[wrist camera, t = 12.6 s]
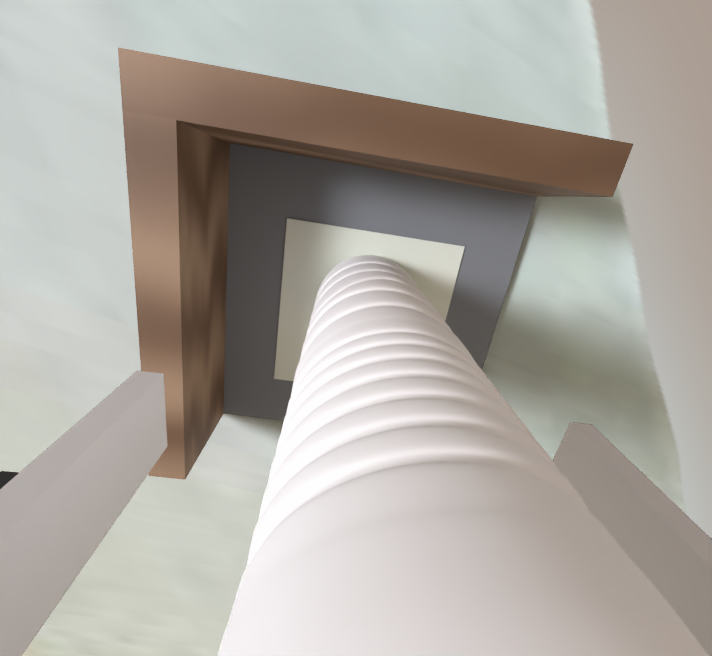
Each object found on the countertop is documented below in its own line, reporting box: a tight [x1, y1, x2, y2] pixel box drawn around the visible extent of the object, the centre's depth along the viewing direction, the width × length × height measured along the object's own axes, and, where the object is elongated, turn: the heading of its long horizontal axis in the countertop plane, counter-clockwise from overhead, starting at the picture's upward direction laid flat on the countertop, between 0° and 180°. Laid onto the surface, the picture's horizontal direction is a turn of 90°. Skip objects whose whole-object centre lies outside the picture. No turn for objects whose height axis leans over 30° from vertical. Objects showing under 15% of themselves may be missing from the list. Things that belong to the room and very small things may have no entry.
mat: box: [223, 143, 537, 421], centre depth 23 cm, size 18×18×1 cm
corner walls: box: [118, 48, 633, 479], centre depth 20 cm, size 20×20×7 cm
